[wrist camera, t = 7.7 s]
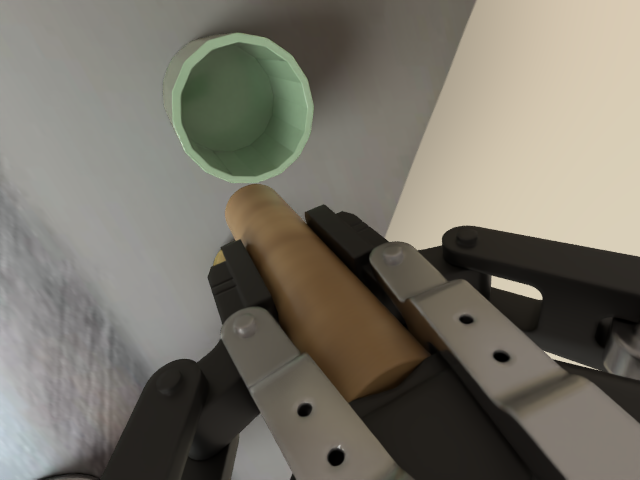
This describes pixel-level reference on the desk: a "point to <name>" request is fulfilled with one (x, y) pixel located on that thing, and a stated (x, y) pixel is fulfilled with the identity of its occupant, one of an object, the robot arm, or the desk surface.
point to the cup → (238, 106)
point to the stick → (322, 298)
